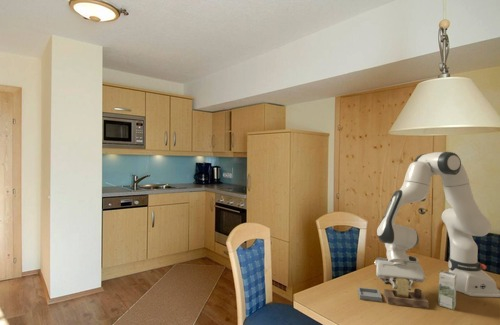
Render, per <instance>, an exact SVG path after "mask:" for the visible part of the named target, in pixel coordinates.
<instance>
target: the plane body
mask: <svg viewBox="0 0 500 325" xmlns="http://www.w3.org/2000/svg"><path fill="white" fill-rule="evenodd" d="M383 290H384V291H383V293H384V294H383V295H384V299H385V300H386V303H387V305H397V306H404V307H411V308H412V307H413V308H420V309H427V310H428V309H429V301H428V299H427V298H426V297H425V295H424V293H423V292H422V289H421V288H414V289H413V291H409V293H408V298H400V297H395V289H387V288H385V289H383Z"/></svg>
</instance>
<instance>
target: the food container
mask: <svg viewBox="0 0 500 325" xmlns="http://www.w3.org/2000/svg"><path fill="white" fill-rule="evenodd" d="M377 258H380V259H387V257H386V258H385V257H379V256H378V257H376V259H377ZM379 279H380V280H381V281H382V282H383V283H384V284H391V283H390V281H389V279H385V278H379Z"/></svg>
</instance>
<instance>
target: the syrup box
mask: <svg viewBox="0 0 500 325" xmlns="http://www.w3.org/2000/svg"><path fill="white" fill-rule="evenodd" d="M456 280H457V274H456V273H451V272H449V271H446V270H441V271H440V272H439V275H438V306H439V307H442V308H445V309H448V310H452V311H454V310H455V308H456V305H457V300H456V299H457V291H456Z"/></svg>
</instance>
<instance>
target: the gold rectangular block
mask: <svg viewBox="0 0 500 325" xmlns="http://www.w3.org/2000/svg"><path fill="white" fill-rule="evenodd" d="M395 284H397V289H394V290H395V297H400V298H408V293H409V292H410V290H409V284H410V283H409V281H408V280H407V278H397V277H396V280H395Z"/></svg>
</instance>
